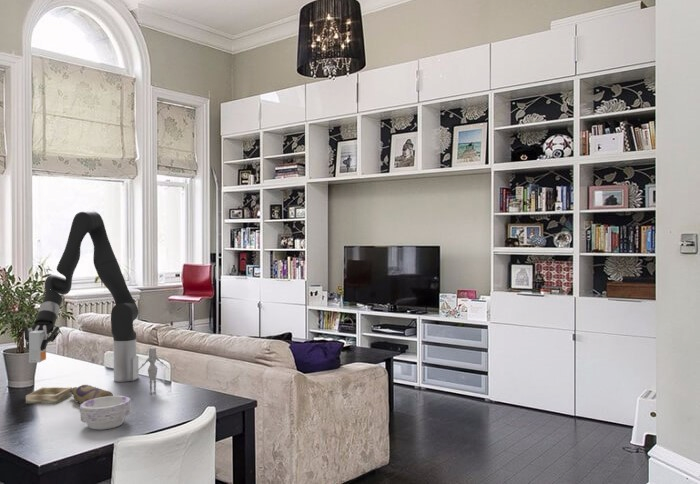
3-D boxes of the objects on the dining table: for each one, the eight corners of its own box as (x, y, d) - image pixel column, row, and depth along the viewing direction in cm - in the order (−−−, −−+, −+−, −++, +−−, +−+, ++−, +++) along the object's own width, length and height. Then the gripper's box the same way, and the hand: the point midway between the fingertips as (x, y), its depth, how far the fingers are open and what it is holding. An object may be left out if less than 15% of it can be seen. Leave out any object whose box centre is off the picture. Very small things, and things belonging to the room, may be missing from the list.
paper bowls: (80, 422, 195) (80, 398, 195) (129, 416, 201) (129, 392, 201) (79, 436, 181) (79, 410, 181) (132, 429, 187) (132, 404, 187)
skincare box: (40, 362, 233) (39, 332, 233) (28, 363, 232) (28, 332, 232) (46, 359, 239) (46, 330, 239) (35, 359, 238) (35, 330, 238)
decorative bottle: (115, 407, 211) (115, 389, 211) (94, 413, 206) (94, 394, 205) (83, 395, 228) (82, 378, 228) (63, 399, 223) (62, 382, 222)
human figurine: (167, 390, 234) (167, 345, 233) (169, 392, 230) (169, 347, 230) (136, 394, 228) (135, 348, 228) (137, 397, 225) (136, 350, 225)
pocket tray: (71, 394, 228) (71, 387, 228) (56, 403, 217) (56, 395, 217) (42, 395, 229) (42, 387, 229) (25, 403, 217) (25, 395, 217)
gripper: (26, 309, 242) (13, 344, 230) (62, 309, 243) (51, 343, 231) (32, 320, 247) (20, 355, 235) (68, 320, 249) (57, 354, 237)
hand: (35, 349), depth 234 cm, fingers closed on skincare box, 4 cm apart
